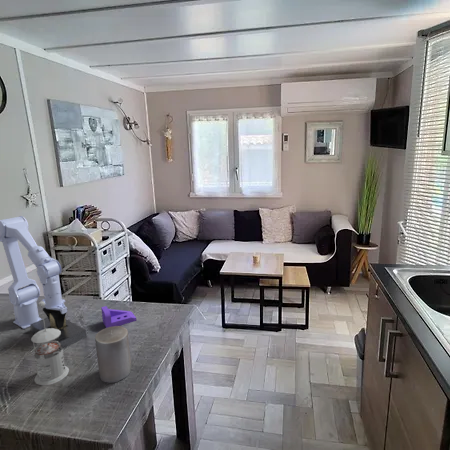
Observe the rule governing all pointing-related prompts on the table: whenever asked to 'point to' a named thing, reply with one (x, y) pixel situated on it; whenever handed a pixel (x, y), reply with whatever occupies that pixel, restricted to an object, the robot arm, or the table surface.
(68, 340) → the dark grey slotted block
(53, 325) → the brass peg
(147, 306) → the table surface
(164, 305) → the table surface
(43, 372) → the french press
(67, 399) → the table surface
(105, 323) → the bracket
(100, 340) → the pillar candle
